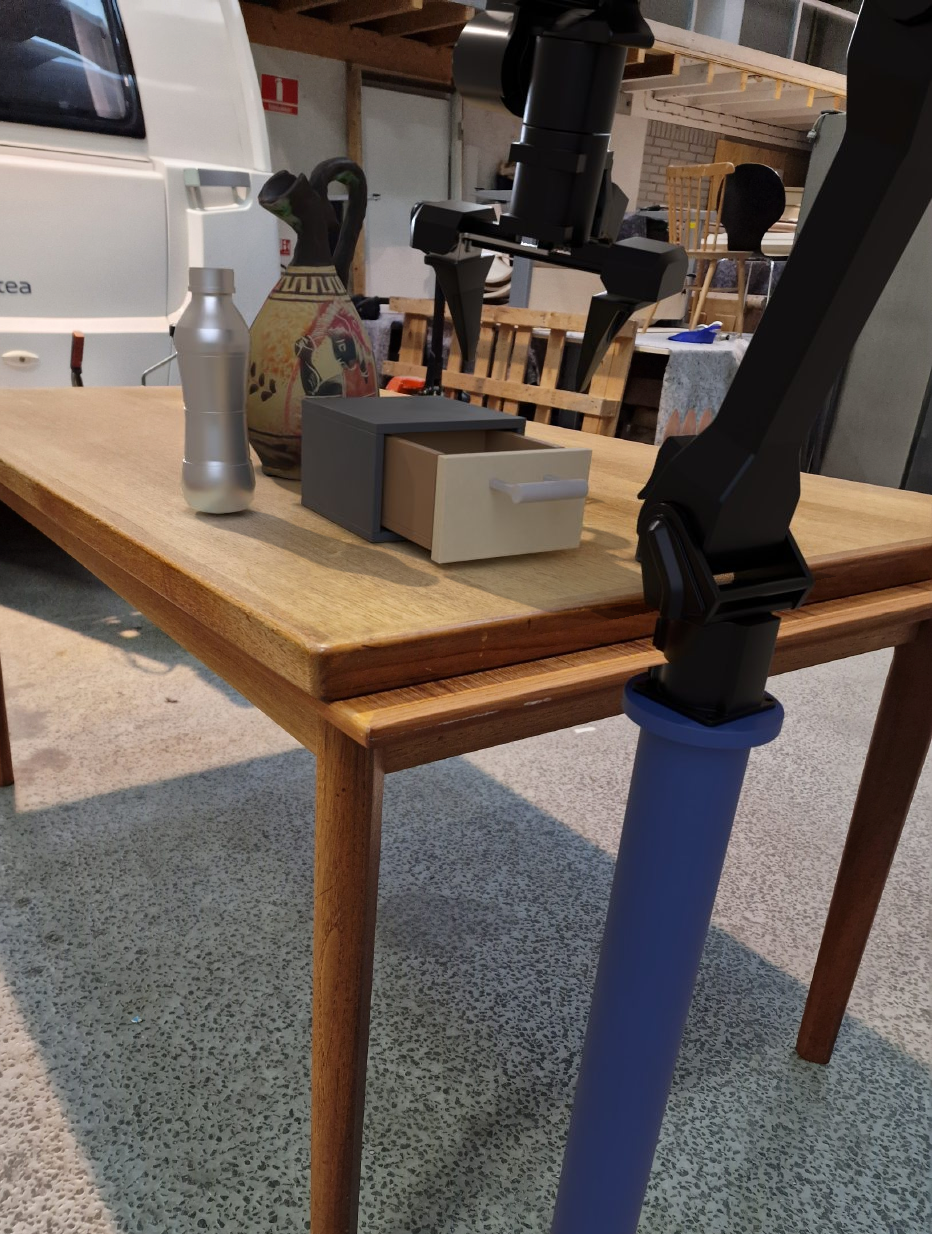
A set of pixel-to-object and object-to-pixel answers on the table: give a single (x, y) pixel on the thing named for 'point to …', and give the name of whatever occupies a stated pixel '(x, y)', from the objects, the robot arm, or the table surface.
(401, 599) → the table surface
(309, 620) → the table surface
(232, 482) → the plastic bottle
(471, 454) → the drawer
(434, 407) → the cabinet
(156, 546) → the table surface
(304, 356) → the ceramic jug
